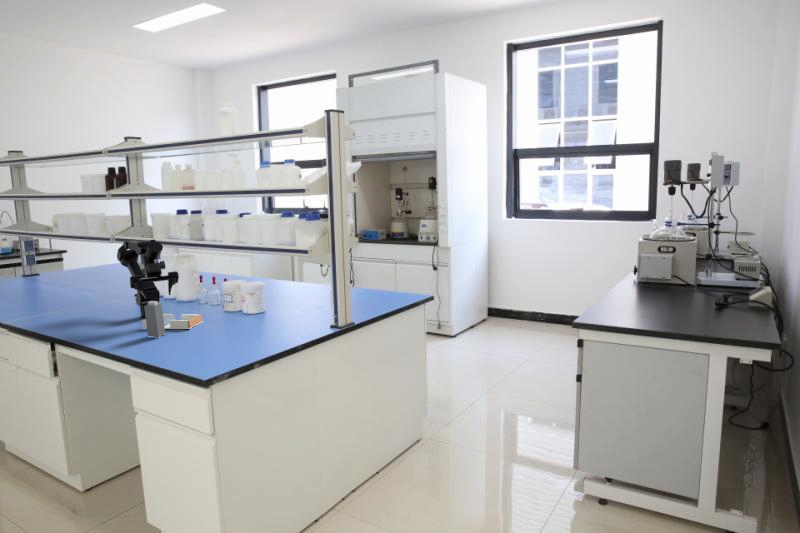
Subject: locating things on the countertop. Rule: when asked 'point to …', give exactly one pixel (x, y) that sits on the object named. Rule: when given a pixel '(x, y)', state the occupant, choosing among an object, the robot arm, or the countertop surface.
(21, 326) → the countertop surface
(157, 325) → the grey pedestal with block
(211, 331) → the countertop surface
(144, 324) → the white tray with rails
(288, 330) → the countertop surface
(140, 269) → the robot arm
